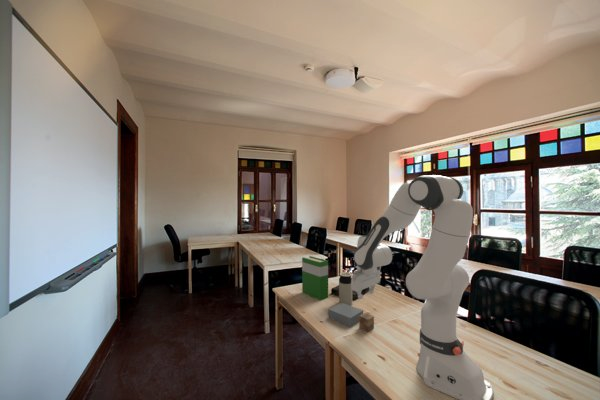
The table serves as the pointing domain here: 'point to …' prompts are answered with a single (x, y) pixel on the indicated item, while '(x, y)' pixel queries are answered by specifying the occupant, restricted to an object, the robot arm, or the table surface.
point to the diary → (354, 293)
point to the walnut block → (366, 322)
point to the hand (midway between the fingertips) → (365, 295)
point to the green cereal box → (315, 277)
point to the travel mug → (345, 288)
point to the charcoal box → (345, 314)
